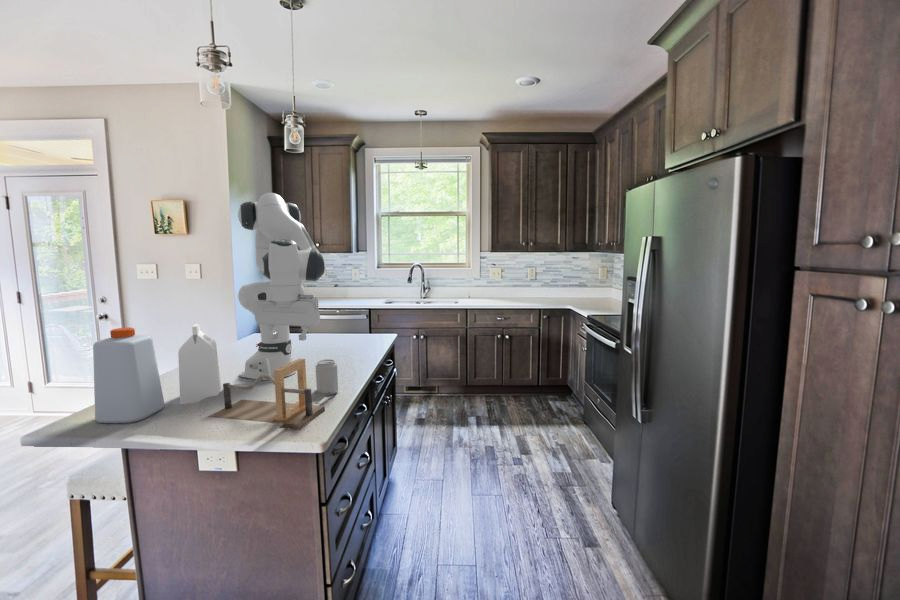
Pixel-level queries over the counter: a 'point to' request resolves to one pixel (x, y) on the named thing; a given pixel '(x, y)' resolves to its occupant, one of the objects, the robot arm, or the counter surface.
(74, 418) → the counter surface
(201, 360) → the milk
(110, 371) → the plastic bottle
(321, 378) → the can
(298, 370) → the wooden frame
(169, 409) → the counter surface
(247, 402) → the buzz board
